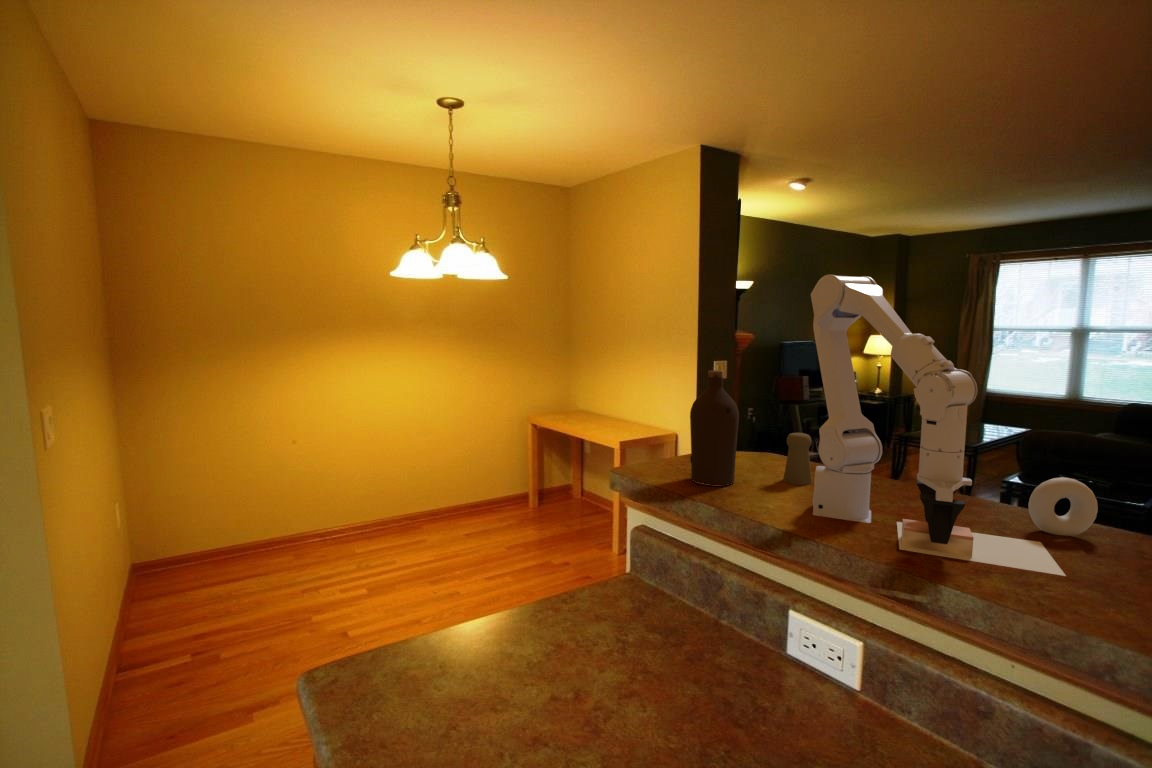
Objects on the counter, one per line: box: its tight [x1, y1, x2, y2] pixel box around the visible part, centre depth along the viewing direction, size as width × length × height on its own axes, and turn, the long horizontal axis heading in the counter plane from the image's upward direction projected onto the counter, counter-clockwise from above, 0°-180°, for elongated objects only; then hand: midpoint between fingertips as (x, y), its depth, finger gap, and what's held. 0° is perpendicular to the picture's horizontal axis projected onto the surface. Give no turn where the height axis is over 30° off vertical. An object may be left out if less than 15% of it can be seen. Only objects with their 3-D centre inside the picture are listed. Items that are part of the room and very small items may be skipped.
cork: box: [782, 432, 813, 486], centre depth 127 cm, size 6×6×11 cm
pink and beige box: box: [901, 518, 974, 557], centre depth 88 cm, size 9×4×3 cm, turn 62°
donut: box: [1027, 476, 1099, 537], centre depth 94 cm, size 10×4×10 cm, turn 84°
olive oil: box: [689, 370, 740, 485], centre depth 126 cm, size 11×11×25 cm
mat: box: [896, 521, 1067, 577], centre depth 89 cm, size 20×14×1 cm
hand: (936, 534), depth 88 cm, fingers open, 7 cm apart
